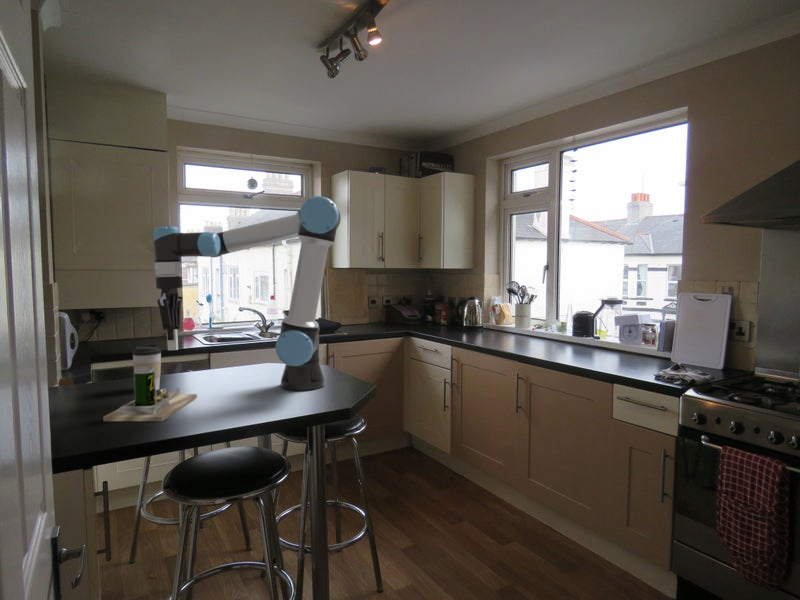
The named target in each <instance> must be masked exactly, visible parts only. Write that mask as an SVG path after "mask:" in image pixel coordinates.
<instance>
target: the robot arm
mask: <svg viewBox="0 0 800 600" xmlns="http://www.w3.org/2000/svg"><path fill="white" fill-rule="evenodd" d="M341 218H342V217H341V213H340V210H339V208H338V206H337V205H336V203H335V202H334V201H333V200H332V199H331V198H329V197H326V196H321V195H317V196H316V195H315V196H312V197H309V198H307V199H306V200H305V201H304V202H303V203H302V205H301V207H300V210H297V211H296V213H295V214H293V215H288V216H283V217H279V218H275V219H271V220H270V219H269V220H268V221H263V222H259V223H254V224H250V225H245V226H242V227H237V228H233V229H229V230H224V231H220V232H212V231H211V232H209V231H203V232H180V228H179V227H177V226H162V225H161V226H156V227H154V229H153V239H152V243H153V252H154V266H153V268H154V270H155V275H156V277H155V286H156V289H158V290H161V291H160V293H161V294H160V298H158V299H157V302H156V303H157V305H158V307H159V312H160V313H159V314H160V320H161V324H162V325H161V326H162V329H163V331H166V340H167V351H178V350H179V338H178V337H179V336H178V330H179V329H181V313H182V312H181V311H182V301H183V297H182V296H179V295H180V294H179V291H178V289H181V288H183V278H182V276H181V275H182V274H183V272H182V271H183V270H182V259H181V258H182V257H183V258H186V257H187V258H189V257H196V258H197V257H203V258H206V257H207V258H219V257H222V256H223V255H226V254H230V253H235V252H239V251H243V250H248V249H251V248H257V247H260V246H265V245H269V244H272V243H274V244H275V243H278V242H281V241H286V240H290V239H295V238H299V240H300V243H301V245H300V249H299V253H298V254H299V255H298V259H297V260H298V261H297V266H296V270H295V271H296V272H295V276H294V282H293V283H294V284H293V286H292V287H293V288H292V294H291V297H290V298H291V299H290V305H289V309H288V315H287V316H286V317H285V318H283V319H282V320H281V327H280V332H279V336H278V337H277V340H276V343H275V353H276V355H277V358H278V359H279V360H280V361H281V362H282V363H283V364H285V366H284V369H283V373H282V376H281V379H280V387H281V389H284V390H286V389H287V391H295V390H297V391H299V392H300V391H303V392H304V391H312V390H311V389H313V390H318V389H320V387H321V388H322V386H323V387H325V385H324V384H325V383H326V382H325V381H326V380H325V376H324V373H323V370H322V367H321V364H320V324H319V322H318V321H316V316H317V311H318V305H319V299H320V295H321V289H322V284H323V279H324V273H325V269H326V263H327V256H328V251H329V248H330V247H331V246H332V245H334V244H335V239H336V235H337V230H338V228H339V227H340V224H341ZM317 388H318V389H317ZM297 391H296V392H297Z"/></svg>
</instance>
